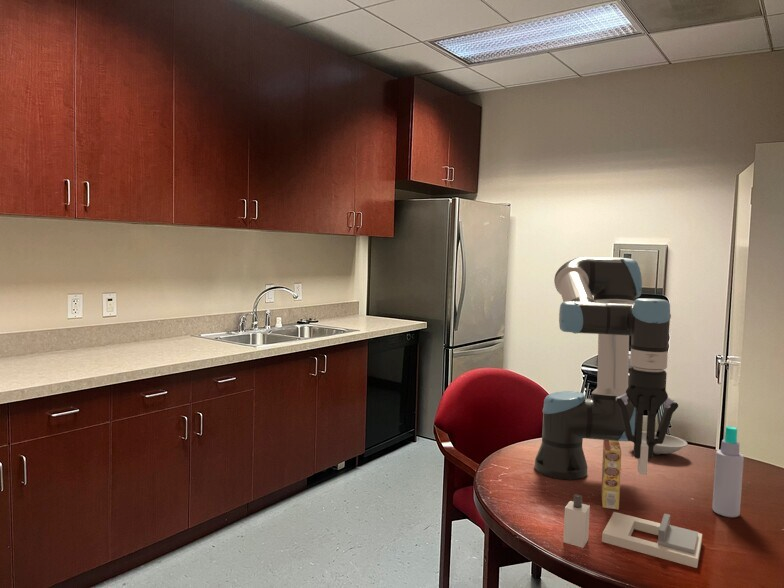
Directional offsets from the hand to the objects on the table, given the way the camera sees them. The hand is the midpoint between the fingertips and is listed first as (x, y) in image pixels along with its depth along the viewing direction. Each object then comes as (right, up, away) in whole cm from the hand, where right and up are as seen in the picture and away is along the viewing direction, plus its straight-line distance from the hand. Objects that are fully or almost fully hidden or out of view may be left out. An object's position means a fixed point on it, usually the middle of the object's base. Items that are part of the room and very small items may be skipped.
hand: (642, 472), depth 128 cm
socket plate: (+3, -16, +1) cm, 16 cm away
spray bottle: (+29, -16, +17) cm, 37 cm away
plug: (-15, -16, +1) cm, 21 cm away
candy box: (+1, -15, +22) cm, 26 cm away
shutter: (+7, -14, -2) cm, 16 cm away
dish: (+31, -13, +60) cm, 69 cm away
